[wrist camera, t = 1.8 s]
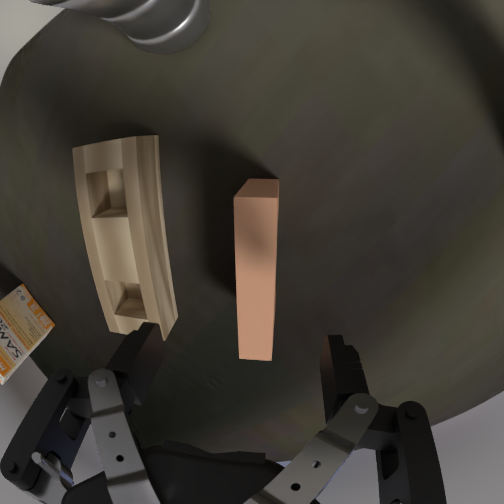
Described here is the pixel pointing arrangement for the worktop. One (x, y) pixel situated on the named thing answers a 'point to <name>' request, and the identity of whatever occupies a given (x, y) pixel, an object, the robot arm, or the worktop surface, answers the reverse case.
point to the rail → (126, 231)
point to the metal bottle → (149, 20)
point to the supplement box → (20, 329)
